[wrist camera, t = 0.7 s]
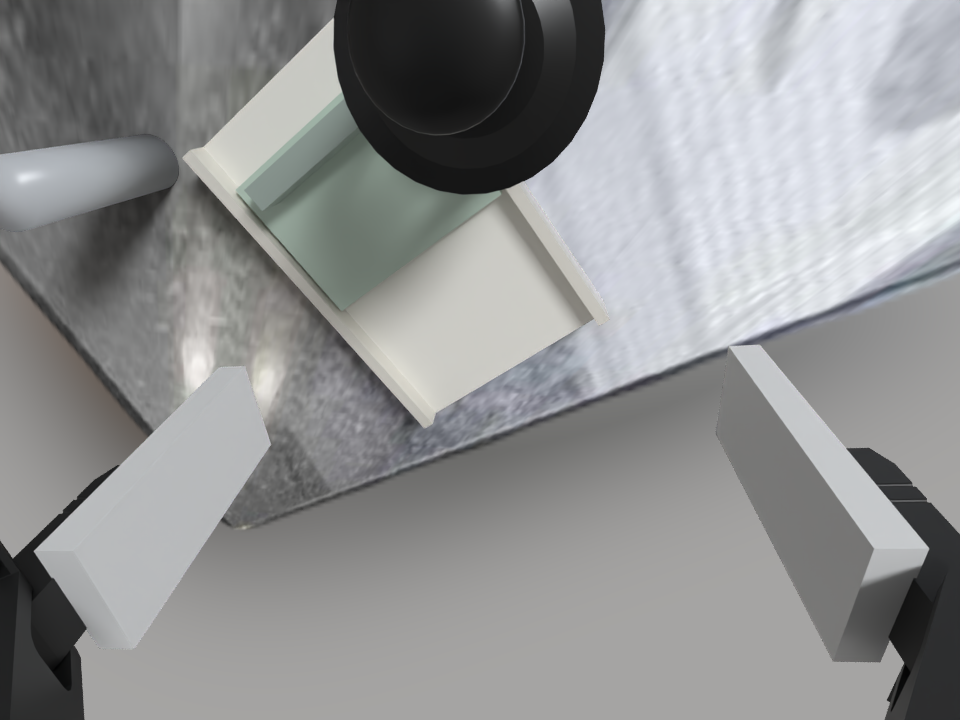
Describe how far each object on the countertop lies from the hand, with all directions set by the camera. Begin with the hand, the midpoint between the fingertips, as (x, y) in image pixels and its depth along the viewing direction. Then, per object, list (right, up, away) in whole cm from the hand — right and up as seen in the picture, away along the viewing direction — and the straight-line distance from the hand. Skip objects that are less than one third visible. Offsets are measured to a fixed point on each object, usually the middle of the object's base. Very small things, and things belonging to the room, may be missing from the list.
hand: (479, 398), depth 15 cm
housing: (-5, +10, +23) cm, 25 cm away
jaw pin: (-23, +15, +22) cm, 35 cm away
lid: (-7, +12, +20) cm, 24 cm away
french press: (+1, +19, +18) cm, 26 cm away
